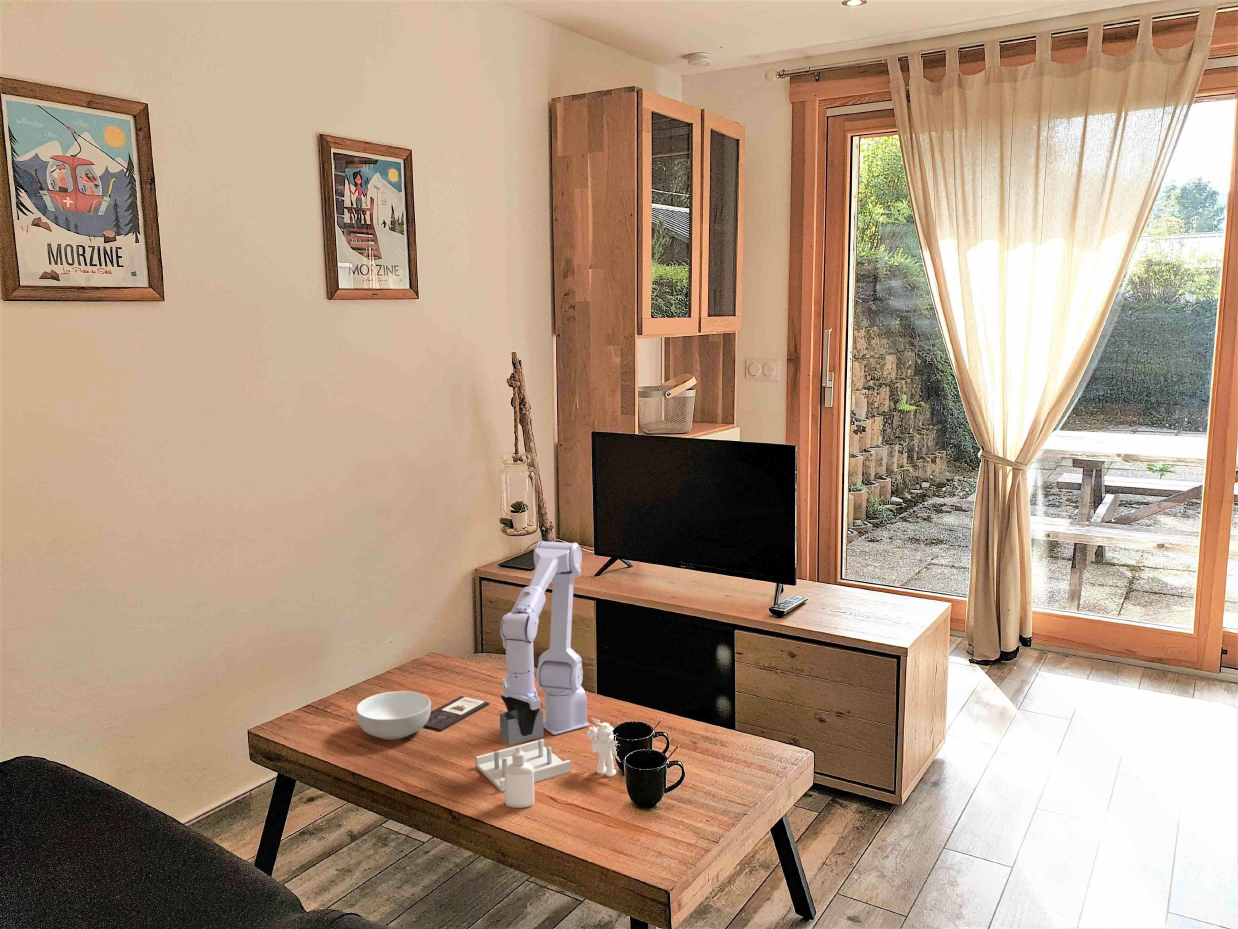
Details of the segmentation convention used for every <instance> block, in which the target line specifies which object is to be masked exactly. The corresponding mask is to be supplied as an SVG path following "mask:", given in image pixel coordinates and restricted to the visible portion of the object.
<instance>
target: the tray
mask: <svg viewBox="0 0 1238 929" xmlns="http://www.w3.org/2000/svg"><path fill="white" fill-rule="evenodd" d="M545 741H546V740H545V739H543V738H542V739H538V740H534V741H533V740H532V741H531V742H527V743H523V744H518V745H515V746H511V747H507V748H504V749H500V750H496V751H492V752H489V753H488V752H487V753H484V754H481V755H478V756H475V764H476V765H475V766H476V768H477V769H478V771H480V772H481V773H482V775H484V776H485V777H486V778H487V779H488V780H489V781H490V782H491V783H492V784H493V785H494V786H495V787H496V788H497V789H498V790H499V791H500V792H502V793H503V792H505V768H506V766H507V765H509V764H511V763H513V760H512V753H513V752H515V751H516V747H517V746H520V748H521V751H523V752H524V753H525V763H528V764H530V765H532V766H533V771H534V783H536V782H540V781H543V780H547V779H550V778H553V777H557V776H561V775H564V774H567V773H570V772H572V761H571V760H570V759H568V760H562V759H560V757H558V756H557V755H556V754H555V753H553V752H552V746H547V747H546V746H545V743H546V742H545Z"/></svg>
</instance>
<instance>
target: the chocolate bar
mask: <svg viewBox="0 0 1238 929" xmlns="http://www.w3.org/2000/svg"><path fill="white" fill-rule="evenodd" d="M488 706H490V702H488V701H484V700H479V699H475V698H472V697H466V696H462V695H460V696H459V697H457V698H454V699H453V700H451V701H449V702H447V703H445V704H443V705H442V706H440V707H437V708H436V709H434V710H431V712H430V717H429V719H428V721H427V723H426V724H425V725H424V726H423V727H422V728H425V729H429V730H433V731H436V732H443V731H445V730H446V729H449V728H450V727H452V726H454V725H456V724H457V723H459V722H462V721H463V720H465V719H466V718H468V717H470V716H471V715H474V714H475V713H477V712H479V711H480V710H482V709H484V708H486V707H488Z"/></svg>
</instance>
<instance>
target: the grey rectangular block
mask: <svg viewBox="0 0 1238 929" xmlns="http://www.w3.org/2000/svg"><path fill="white" fill-rule="evenodd" d="M543 720H544V711H542V710H541V709H540V710H539V712H538V714H537V717H536V720H535V724H534V728H533V732H532V734H531V735H527V736H523V735H522V733H521V729H520V722H519V717H518V714H517V712H516V710H511V711H508V710H507V711H503V712H499V726H500V727H499V729H500V730H499V731H500V732H499V733H500V735H499V736H500V739H502V741H503V742H504V743H506V744H507V745H508V746H512V745H516V744H519V743H523V742H527V741H530V740H535V739H538V738H542V737H544V727H543Z"/></svg>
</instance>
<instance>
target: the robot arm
mask: <svg viewBox="0 0 1238 929" xmlns="http://www.w3.org/2000/svg"><path fill="white" fill-rule="evenodd" d="M582 557H583V553H582V550H581V546H580V545H579V543H577V542H558V541H544V540H539V541H538V542H537V543H536V545H535V546H534V549H533V562H534V566H535V567H534V571H533V573H532V576H531V579H530V583H529V585H528V586H525V587H523V588H522V589H521V590H520V593H519V594H518V597H517V599H516V601H515V603H514V605H513V607H512V609H511V611H510V612H507V614H504V615H503V616H502V618H501V622H500V630H499V632H500V633H499V634H500V637H501V640H502V646H503V648H504V649H505V659H506V661H505V664H506V678H502V680H501V681H502V682H501V684H502V689H503V690H502V692H501V696H500V697H501V698H500V699H501V700H502V701H503V703H504V705H505V707H506V710H507V711H511V710H516V712H517V714H518V717H519V722H520V729H521V733H522V735H523V736H527V735H531V734H532V732H533V728H534V724H535V720H536V717H537V714H538V712H539V710H541V708H542V707H543V704H542V699H541V698H540V697H539V696H538V691H537V689H536V687H535V680H536V683H537V685H538V686H539V688H541V692H544V715H545V716H544V717H545V718H544V719H543V729H545V730H546V731H548V732H549V733H550V734H551V735H554V736H555V735H560V734H563V733H567V732H571V731H575V730H578V729H582V728H586V727H589V726H590V725H589V722H588V701H587V700H588V699H587V695H586V692H585V689H584V687H583V686H582V683H583V679H584V678H583V676H584V670H583V662H582V661H583V660H582V657H581V656H580V655H579V654H578V653H577V652H576V651H575V650H573V648H572V647H571V642H572V623H573V622H572V621H573V602H574V601H573V600H574V585H575V584H574V583H575V579H576V578H579V577H580V576H581V573H582V572H581V571H582V561H583V560H582ZM551 582H552V596H551V612H550V615H551V616H550V619H551V620H550V634H549V637H550V638H549V648H548V649H547V650H545V651H543V653H541V655H539V658H538V664H537V669H536V674H535V660H534V659H535V657H534V655H535V654H534V640H535V639H536V637H537V633H538V627H539V623H540V620H539V619H540V618H539V617H540V616H541V612H542V610H543V608H544V605H545V603H546V602H547V597H546V594H545V592H546V590H547V589H548V587H549V585H550V584H551Z"/></svg>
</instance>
